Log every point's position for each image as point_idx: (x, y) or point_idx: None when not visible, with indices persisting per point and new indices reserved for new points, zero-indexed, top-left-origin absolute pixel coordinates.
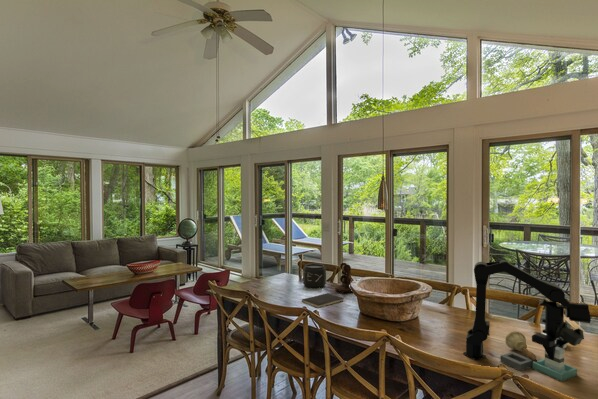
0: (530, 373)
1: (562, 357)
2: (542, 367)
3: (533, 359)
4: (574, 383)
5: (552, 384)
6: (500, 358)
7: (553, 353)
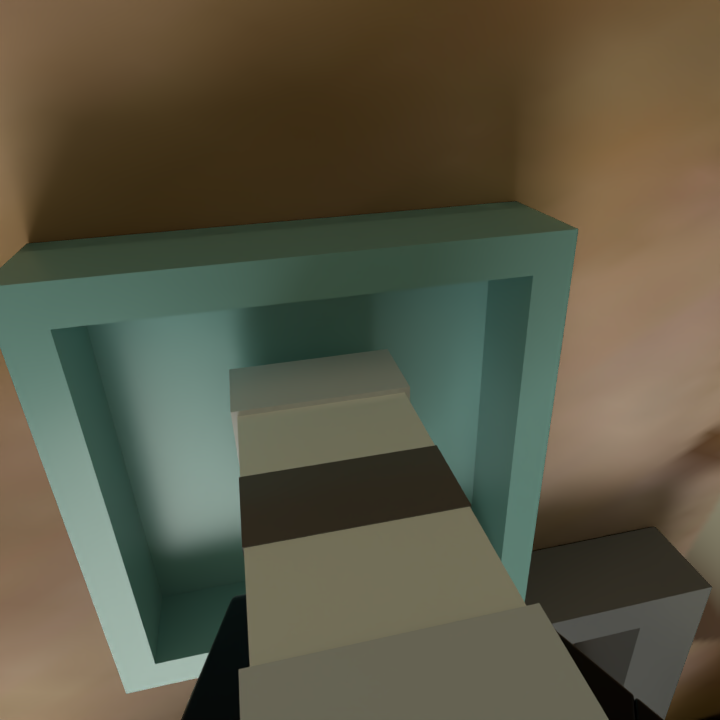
0: (624, 467)
1: (333, 550)
2: (530, 492)
3: None
4: (391, 73)
5: (710, 196)
6: None
7: (601, 681)
